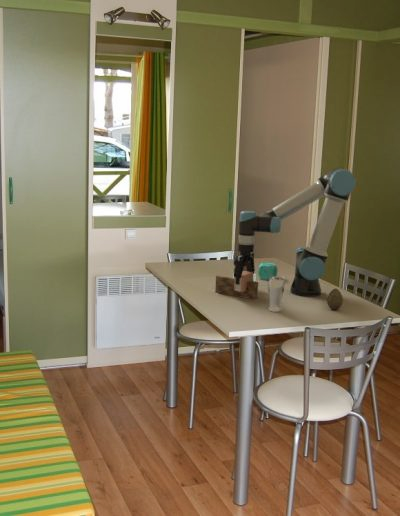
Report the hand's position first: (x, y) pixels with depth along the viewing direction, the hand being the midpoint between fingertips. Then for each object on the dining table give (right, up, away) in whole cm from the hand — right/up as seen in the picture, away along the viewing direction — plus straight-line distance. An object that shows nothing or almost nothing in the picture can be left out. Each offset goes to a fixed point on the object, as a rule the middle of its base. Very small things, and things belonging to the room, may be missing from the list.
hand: (243, 288), depth 333 cm
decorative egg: (+41, -9, -16) cm, 45 cm away
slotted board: (-3, -3, +3) cm, 5 cm away
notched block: (0, 0, 0) cm, 0 cm away
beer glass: (+13, -9, -22) cm, 27 cm away
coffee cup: (0, -1, +17) cm, 17 cm away
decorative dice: (+16, +3, +41) cm, 44 cm away
